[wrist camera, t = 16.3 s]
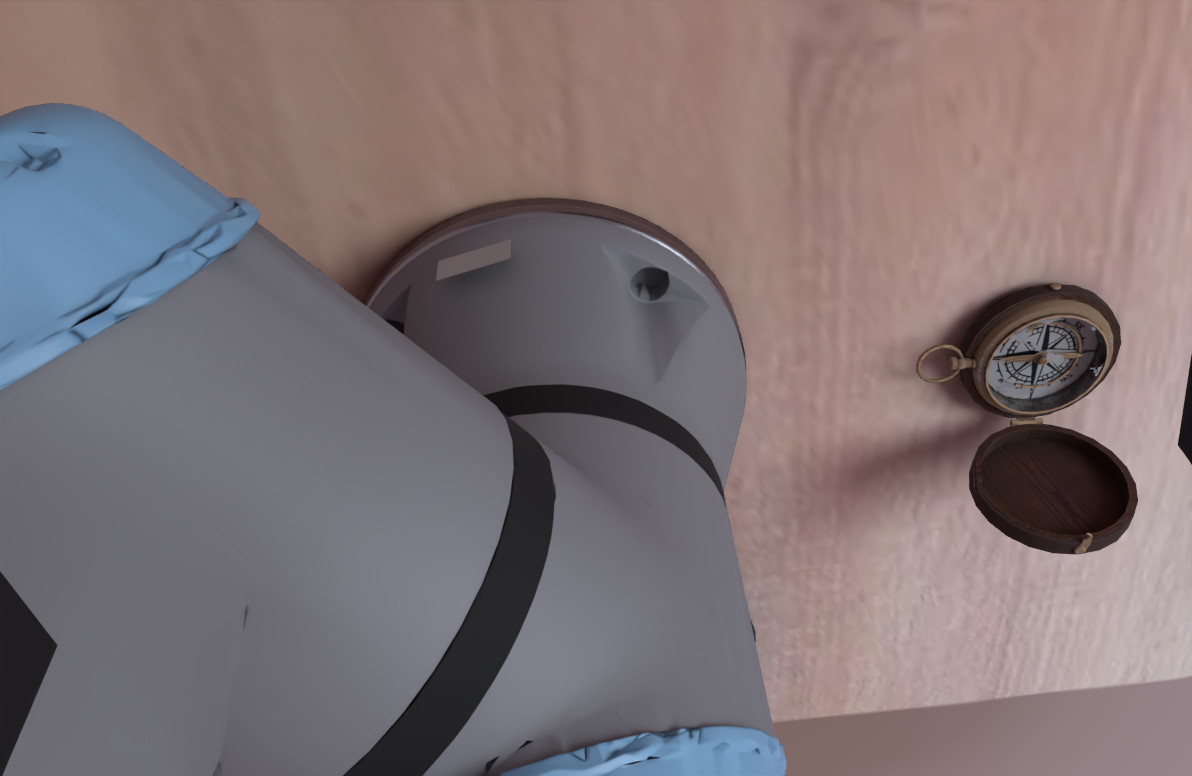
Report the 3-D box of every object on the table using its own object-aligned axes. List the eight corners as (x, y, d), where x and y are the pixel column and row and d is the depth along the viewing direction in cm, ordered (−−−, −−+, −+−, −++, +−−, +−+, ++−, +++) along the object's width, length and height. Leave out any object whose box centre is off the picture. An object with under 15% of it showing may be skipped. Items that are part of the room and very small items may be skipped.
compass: (1129, 272, 43) (1223, 388, 37) (1082, 431, 48) (1158, 555, 42) (921, 284, 43) (982, 402, 37) (895, 442, 47) (946, 569, 42)
